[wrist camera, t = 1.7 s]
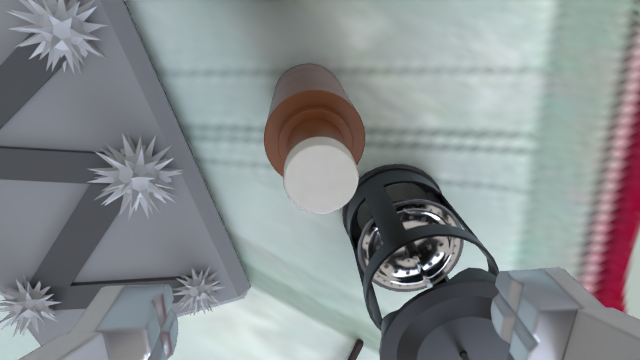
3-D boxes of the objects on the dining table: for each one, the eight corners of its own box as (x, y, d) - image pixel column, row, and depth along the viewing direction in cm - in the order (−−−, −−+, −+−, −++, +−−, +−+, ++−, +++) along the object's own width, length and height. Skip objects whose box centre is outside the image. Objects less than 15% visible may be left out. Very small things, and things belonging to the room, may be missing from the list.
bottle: (342, 63, 33) (390, 114, 16) (341, 131, 35) (383, 236, 18) (272, 63, 32) (250, 116, 16) (275, 132, 35) (258, 240, 18)
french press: (318, 196, 37) (350, 445, 16) (406, 137, 35) (575, 326, 14) (385, 281, 41) (484, 571, 20) (468, 232, 39) (671, 490, 18)
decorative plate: (-161, 46, 30) (-289, 55, 24) (110, -46, 29) (56, -63, 22) (54, 343, 42) (9, 405, 35) (255, 286, 40) (247, 339, 34)
